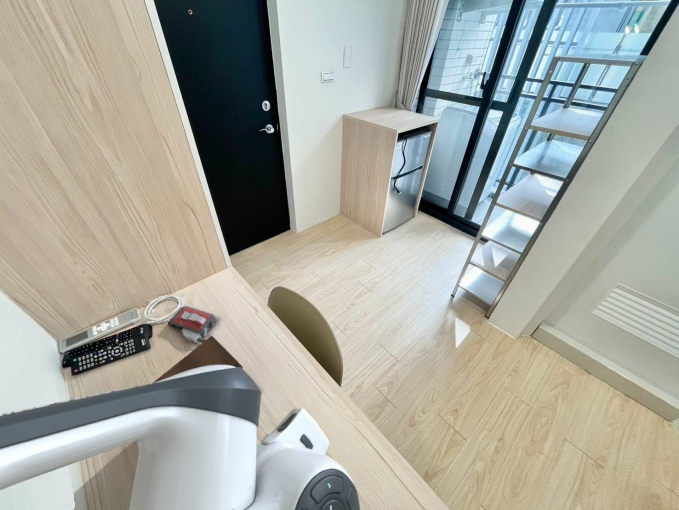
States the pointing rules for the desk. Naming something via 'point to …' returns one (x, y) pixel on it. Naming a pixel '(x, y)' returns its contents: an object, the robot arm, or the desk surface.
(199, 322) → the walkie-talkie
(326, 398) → the desk surface
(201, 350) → the cupboard
